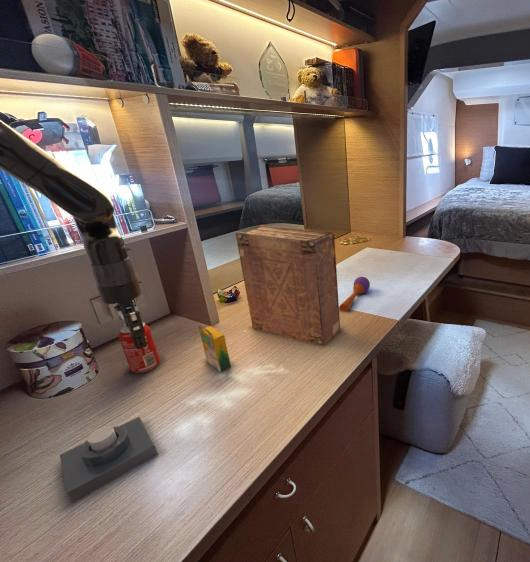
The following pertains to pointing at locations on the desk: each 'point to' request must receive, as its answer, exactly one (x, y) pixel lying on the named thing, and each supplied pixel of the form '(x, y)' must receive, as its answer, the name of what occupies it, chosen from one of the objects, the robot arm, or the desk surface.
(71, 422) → the desk surface
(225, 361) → the crayon box
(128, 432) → the button base
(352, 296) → the purple and orange maraca
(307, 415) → the desk surface
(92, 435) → the white button cap
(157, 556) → the desk surface
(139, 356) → the beverage can
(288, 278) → the brown wooden chest
